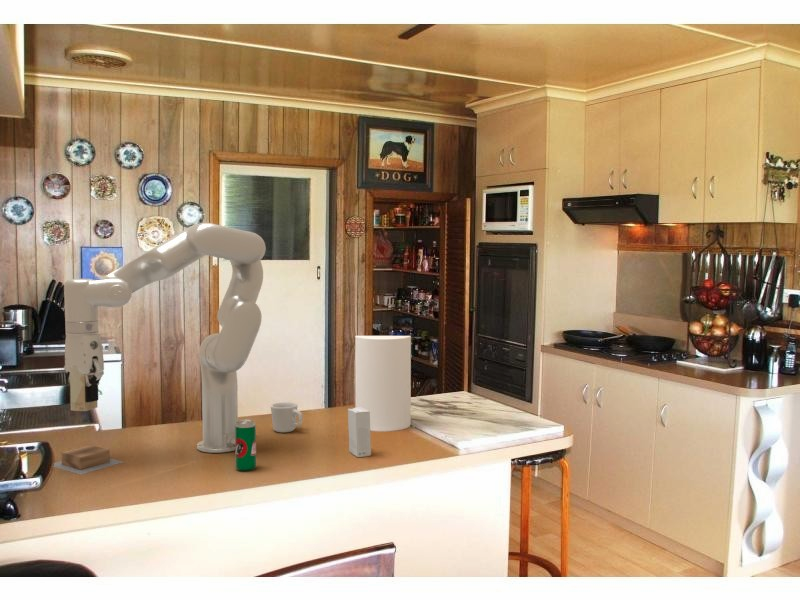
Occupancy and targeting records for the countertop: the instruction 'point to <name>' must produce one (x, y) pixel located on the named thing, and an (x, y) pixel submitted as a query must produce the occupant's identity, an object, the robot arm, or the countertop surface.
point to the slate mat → (111, 463)
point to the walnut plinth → (85, 457)
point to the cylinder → (384, 380)
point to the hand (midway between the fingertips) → (84, 399)
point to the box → (79, 391)
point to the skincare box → (359, 432)
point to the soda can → (245, 445)
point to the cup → (285, 416)
